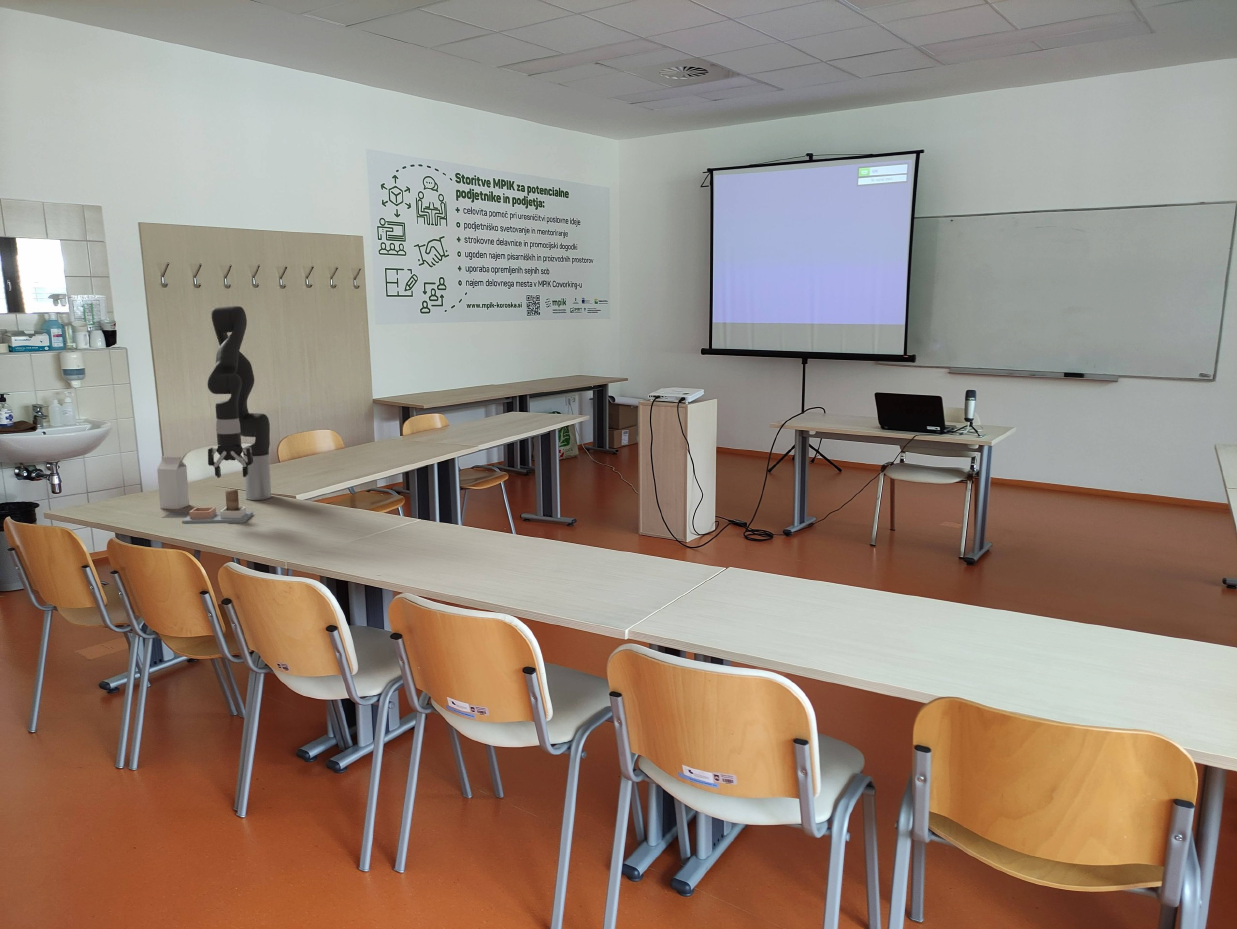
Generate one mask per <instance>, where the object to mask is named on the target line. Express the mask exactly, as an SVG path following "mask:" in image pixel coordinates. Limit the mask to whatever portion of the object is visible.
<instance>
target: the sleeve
mask: <svg viewBox="0 0 1237 929" xmlns="http://www.w3.org/2000/svg"><path fill="white" fill-rule="evenodd" d="M224 492H225V502H226V504H225V505H226V506H225V507H227V511H239V507H240V502H239V490H238V489H226V490H225V491H224Z"/></svg>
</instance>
